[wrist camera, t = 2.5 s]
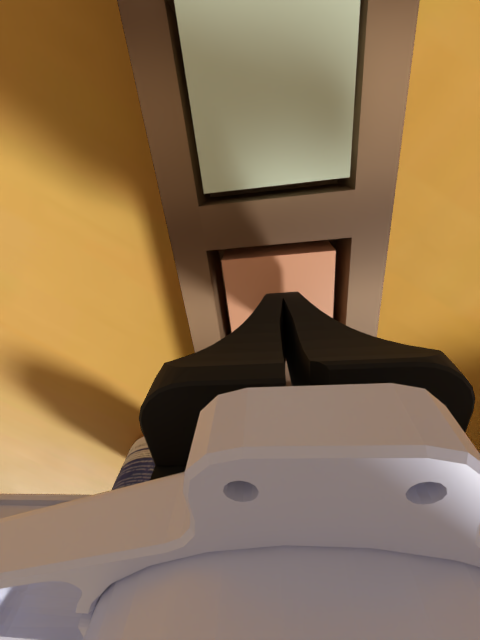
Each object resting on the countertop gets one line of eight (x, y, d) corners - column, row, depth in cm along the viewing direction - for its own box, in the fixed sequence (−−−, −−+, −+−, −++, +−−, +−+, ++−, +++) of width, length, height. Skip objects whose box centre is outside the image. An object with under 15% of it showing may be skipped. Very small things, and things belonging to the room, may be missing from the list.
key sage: (193, 33, 9) (173, -2, 7) (339, 7, 9) (362, -40, 7) (214, 186, 11) (204, 193, 9) (333, 173, 11) (349, 177, 9)
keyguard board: (64, -430, 7) (-58, -791, 4) (432, -571, 6) (565, -1141, 3) (227, 434, 21) (222, 474, 18) (346, 432, 20) (359, 474, 17)
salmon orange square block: (227, 244, 14) (221, 260, 12) (324, 235, 13) (335, 250, 11) (238, 326, 16) (234, 352, 14) (322, 321, 15) (331, 347, 13)
